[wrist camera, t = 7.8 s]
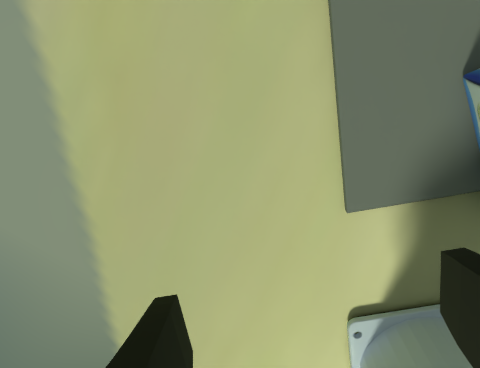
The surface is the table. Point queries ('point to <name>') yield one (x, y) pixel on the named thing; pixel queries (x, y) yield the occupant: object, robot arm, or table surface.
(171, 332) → the robot arm
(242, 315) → the table surface
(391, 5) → the mat
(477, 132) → the medicine box
